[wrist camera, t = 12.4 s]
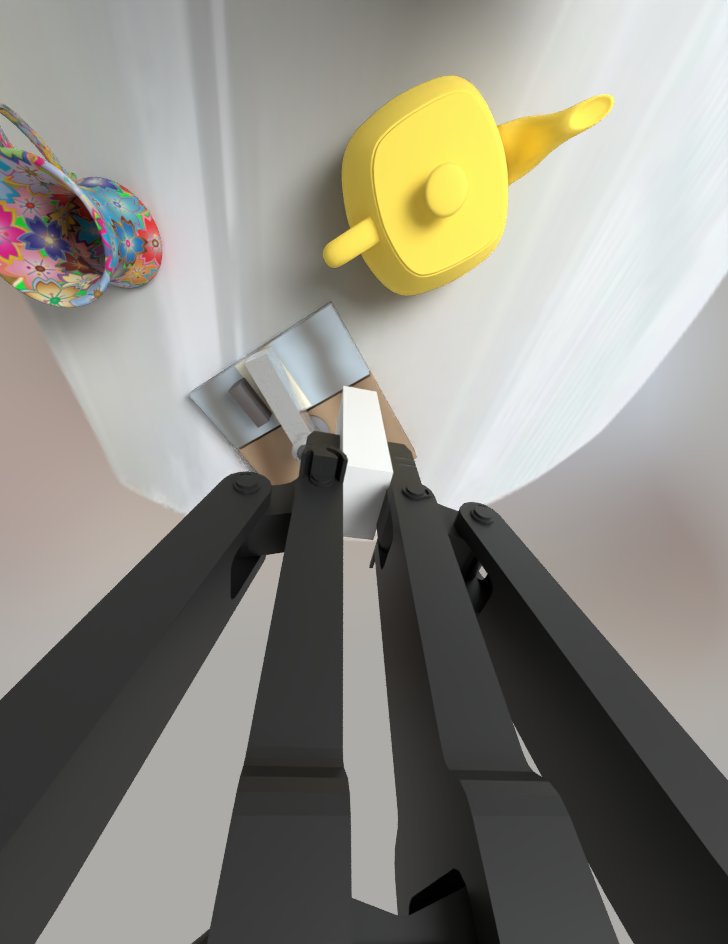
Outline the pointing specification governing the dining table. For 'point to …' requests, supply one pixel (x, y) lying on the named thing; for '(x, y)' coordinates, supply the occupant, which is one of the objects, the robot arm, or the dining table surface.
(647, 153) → the dining table surface
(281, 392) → the latch bar
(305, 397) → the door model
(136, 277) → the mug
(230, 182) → the dining table surface
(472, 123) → the teapot
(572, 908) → the robot arm
